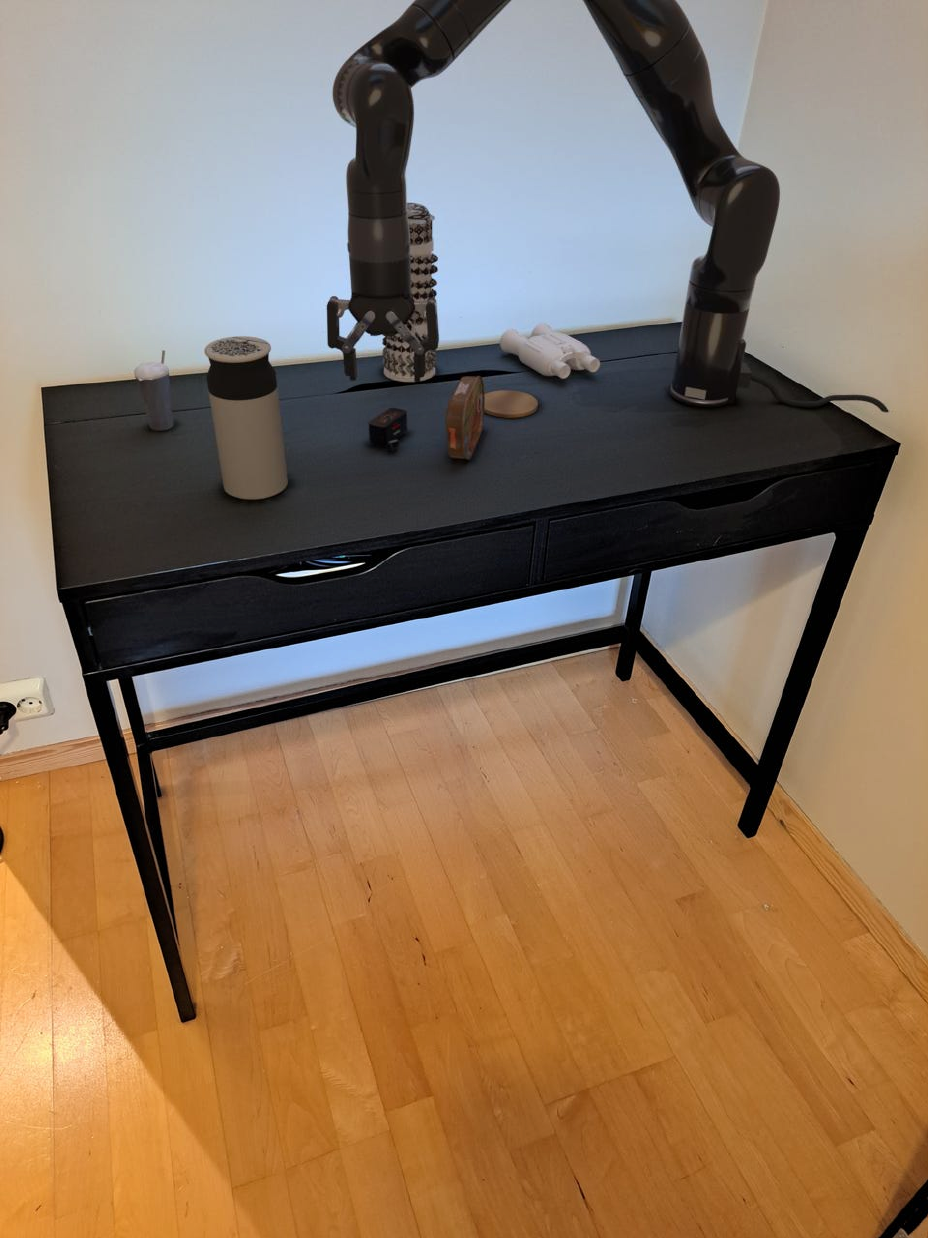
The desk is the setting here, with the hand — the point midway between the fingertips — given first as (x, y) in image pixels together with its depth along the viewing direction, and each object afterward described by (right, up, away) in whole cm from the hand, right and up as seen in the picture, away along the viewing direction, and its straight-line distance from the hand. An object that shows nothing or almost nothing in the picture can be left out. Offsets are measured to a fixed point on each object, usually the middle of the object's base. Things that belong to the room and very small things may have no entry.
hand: (385, 378), depth 119 cm
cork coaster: (+17, 0, +16) cm, 24 cm away
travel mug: (-16, -15, -5) cm, 23 cm away
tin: (+11, -8, +5) cm, 14 cm away
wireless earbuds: (0, -7, +6) cm, 9 cm away
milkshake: (-32, -4, +9) cm, 34 cm away
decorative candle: (+2, +8, +26) cm, 28 cm away
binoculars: (+25, +10, +30) cm, 40 cm away
